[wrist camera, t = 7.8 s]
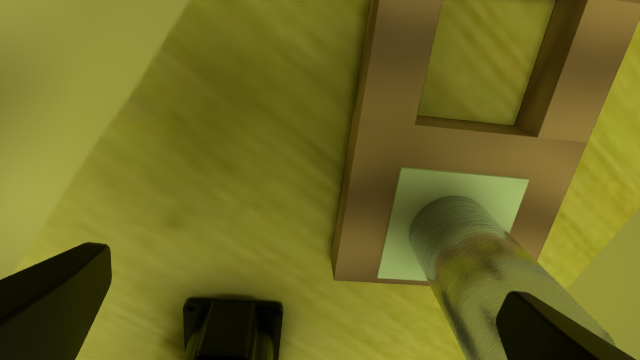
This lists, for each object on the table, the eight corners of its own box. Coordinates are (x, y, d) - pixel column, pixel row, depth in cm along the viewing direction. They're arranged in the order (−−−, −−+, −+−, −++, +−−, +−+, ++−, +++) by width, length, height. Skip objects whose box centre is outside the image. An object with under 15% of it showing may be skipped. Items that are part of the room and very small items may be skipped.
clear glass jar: (475, 267, 22) (583, 419, 13) (401, 262, 21) (465, 414, 13) (499, 199, 20) (640, 324, 12) (419, 191, 20) (506, 315, 11)
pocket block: (505, 269, 25) (526, 293, 23) (330, 257, 24) (334, 282, 22) (623, -34, 18) (669, -41, 16) (381, -72, 17) (394, -85, 14)
